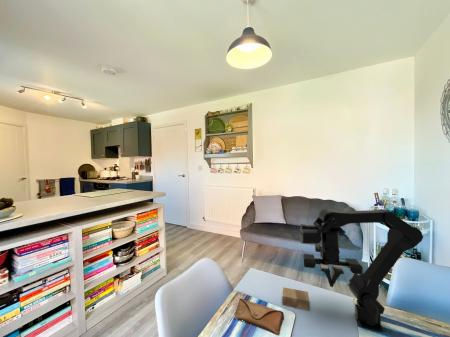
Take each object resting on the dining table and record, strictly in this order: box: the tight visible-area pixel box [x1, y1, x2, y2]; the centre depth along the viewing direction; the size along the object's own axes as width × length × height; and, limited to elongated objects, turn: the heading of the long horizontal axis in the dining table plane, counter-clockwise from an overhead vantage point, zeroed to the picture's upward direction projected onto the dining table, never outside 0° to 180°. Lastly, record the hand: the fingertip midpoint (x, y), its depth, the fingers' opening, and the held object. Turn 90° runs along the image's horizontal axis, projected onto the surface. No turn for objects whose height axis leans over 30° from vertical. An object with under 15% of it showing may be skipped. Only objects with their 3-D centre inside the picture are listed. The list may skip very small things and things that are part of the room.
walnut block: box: [281, 287, 310, 312], centre depth 79 cm, size 4×6×10 cm
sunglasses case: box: [234, 298, 285, 336], centre depth 71 cm, size 18×7×7 cm
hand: (331, 286), depth 70 cm, fingers closed
